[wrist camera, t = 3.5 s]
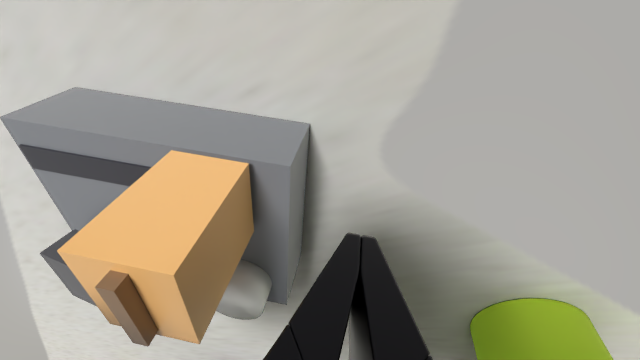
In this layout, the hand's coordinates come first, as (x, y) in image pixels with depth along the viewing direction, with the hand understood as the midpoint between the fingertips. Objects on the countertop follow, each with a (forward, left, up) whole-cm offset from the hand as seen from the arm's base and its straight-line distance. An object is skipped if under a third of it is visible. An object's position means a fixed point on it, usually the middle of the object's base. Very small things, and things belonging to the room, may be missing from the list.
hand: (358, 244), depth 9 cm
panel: (-2, +7, -4) cm, 9 cm away
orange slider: (0, +5, -1) cm, 5 cm away
